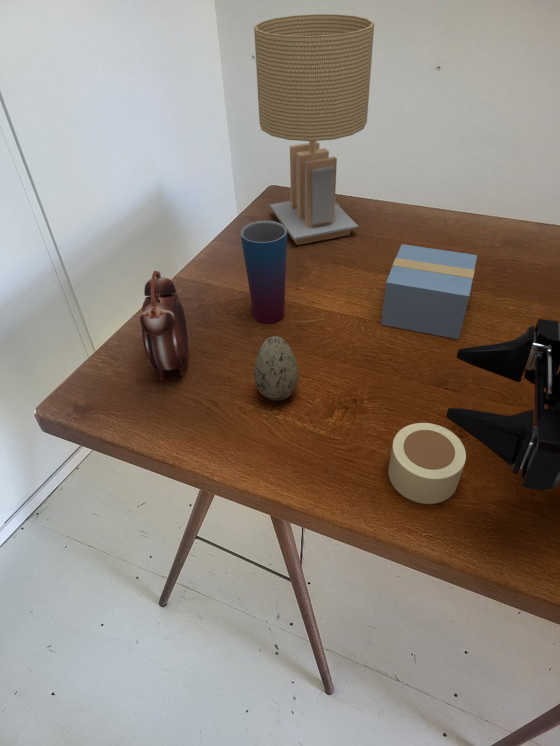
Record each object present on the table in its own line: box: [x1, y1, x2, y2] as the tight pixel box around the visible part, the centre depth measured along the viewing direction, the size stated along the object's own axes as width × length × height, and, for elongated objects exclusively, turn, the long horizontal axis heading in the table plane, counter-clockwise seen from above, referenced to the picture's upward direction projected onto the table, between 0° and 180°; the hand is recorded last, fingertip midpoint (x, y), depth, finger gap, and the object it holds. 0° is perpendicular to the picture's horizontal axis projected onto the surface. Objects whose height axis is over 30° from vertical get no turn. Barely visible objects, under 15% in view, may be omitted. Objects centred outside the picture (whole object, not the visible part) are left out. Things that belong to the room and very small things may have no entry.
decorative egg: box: [253, 335, 300, 401], centre depth 68 cm, size 6×6×10 cm
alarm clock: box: [139, 270, 189, 381], centre depth 72 cm, size 11×5×15 cm, turn 5°
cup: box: [240, 220, 288, 325], centre depth 81 cm, size 7×7×15 cm
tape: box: [387, 422, 467, 505], centre depth 59 cm, size 8×8×5 cm
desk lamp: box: [253, 13, 375, 246], centre depth 96 cm, size 20×20×35 cm
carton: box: [380, 243, 478, 340], centre depth 82 cm, size 12×12×8 cm
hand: (452, 381), depth 53 cm, fingers open, 9 cm apart
